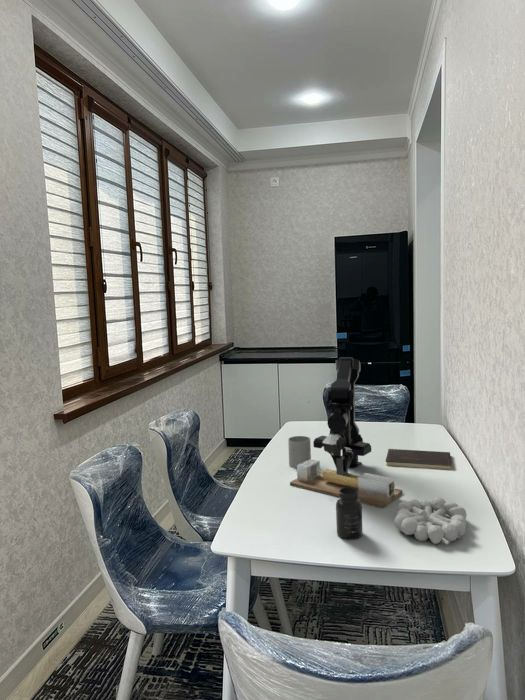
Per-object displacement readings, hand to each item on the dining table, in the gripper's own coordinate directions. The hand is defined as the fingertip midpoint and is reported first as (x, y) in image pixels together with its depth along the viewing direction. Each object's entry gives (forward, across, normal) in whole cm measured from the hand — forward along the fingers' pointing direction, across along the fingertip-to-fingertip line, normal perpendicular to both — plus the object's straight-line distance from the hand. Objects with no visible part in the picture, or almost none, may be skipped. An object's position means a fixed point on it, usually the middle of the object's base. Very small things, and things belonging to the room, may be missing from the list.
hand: (342, 470), depth 166 cm
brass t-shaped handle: (+4, +5, 0) cm, 6 cm away
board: (+6, +1, 0) cm, 6 cm away
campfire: (+7, +34, -11) cm, 36 cm away
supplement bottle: (+6, +18, -27) cm, 33 cm away
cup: (+6, -25, +12) cm, 29 cm away
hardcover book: (+7, +10, +40) cm, 42 cm away
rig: (+5, +1, 0) cm, 5 cm away
